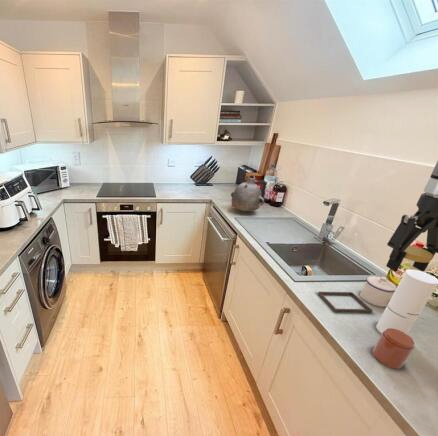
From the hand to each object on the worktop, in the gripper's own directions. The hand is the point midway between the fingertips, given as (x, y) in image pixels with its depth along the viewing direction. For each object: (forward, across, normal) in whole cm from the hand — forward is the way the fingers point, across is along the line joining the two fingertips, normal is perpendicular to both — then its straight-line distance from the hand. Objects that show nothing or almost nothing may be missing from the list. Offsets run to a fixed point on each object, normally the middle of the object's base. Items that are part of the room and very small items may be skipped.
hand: (404, 268), depth 70 cm
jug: (+29, -1, -118) cm, 121 cm away
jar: (+29, +2, +8) cm, 30 cm away
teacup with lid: (+29, -18, -19) cm, 39 cm away
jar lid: (-6, 0, 0) cm, 6 cm away
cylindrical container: (+29, -8, -2) cm, 30 cm away
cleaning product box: (+29, -14, -138) cm, 142 cm away
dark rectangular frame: (+29, -3, -16) cm, 33 cm away
